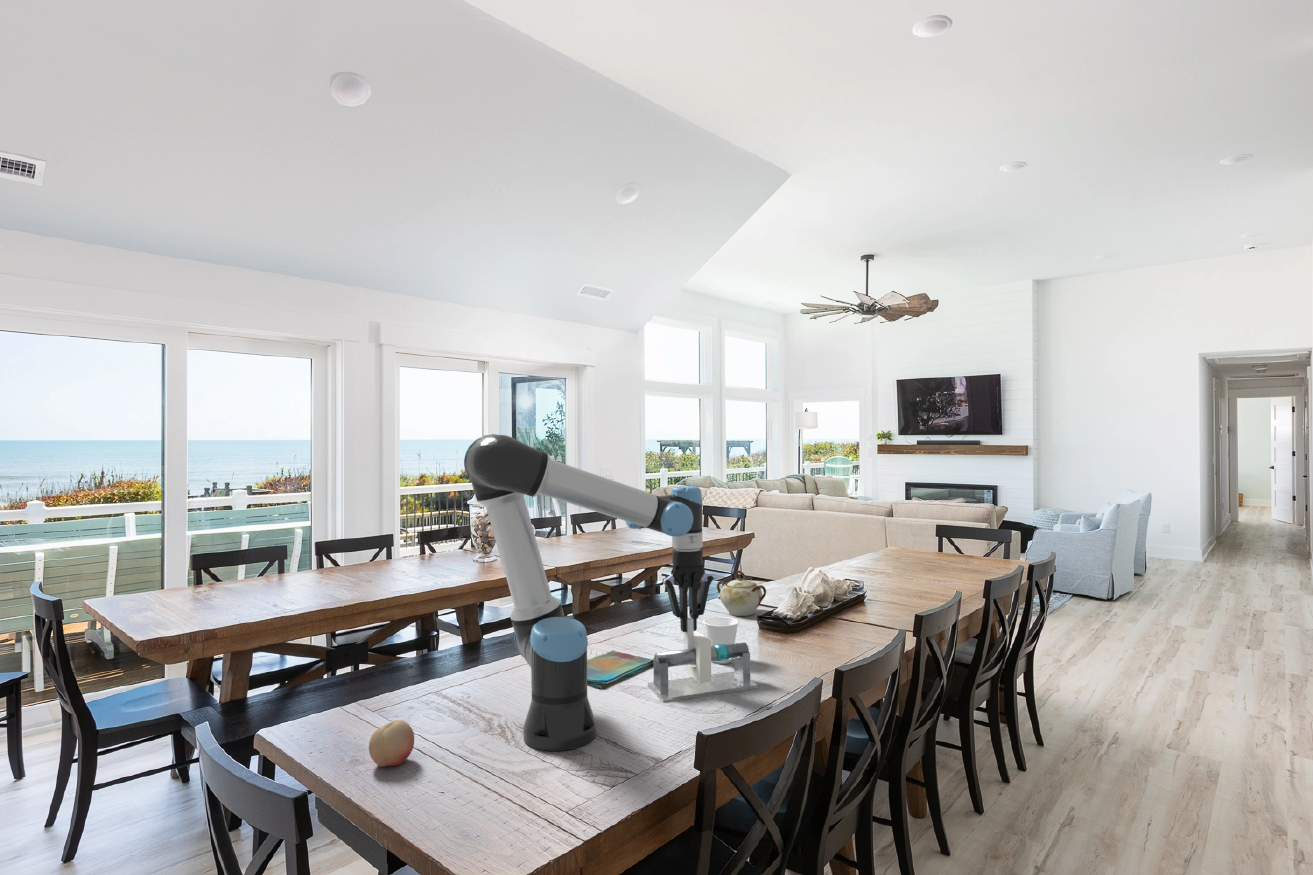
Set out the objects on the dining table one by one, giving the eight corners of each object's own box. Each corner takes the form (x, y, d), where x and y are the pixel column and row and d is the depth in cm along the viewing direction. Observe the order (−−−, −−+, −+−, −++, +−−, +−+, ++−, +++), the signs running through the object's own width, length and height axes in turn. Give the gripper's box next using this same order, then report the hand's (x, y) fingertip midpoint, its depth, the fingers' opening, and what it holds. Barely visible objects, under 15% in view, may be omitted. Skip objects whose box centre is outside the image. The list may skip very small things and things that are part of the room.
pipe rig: (662, 701, 165) (662, 659, 165) (647, 686, 175) (647, 646, 175) (757, 688, 173) (757, 647, 173) (738, 673, 184) (737, 635, 184)
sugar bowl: (705, 613, 246) (705, 571, 245) (728, 605, 257) (727, 564, 257) (755, 622, 234) (755, 577, 234) (776, 613, 246) (776, 570, 245)
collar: (699, 683, 169) (699, 641, 169) (684, 670, 178) (684, 630, 178) (711, 681, 170) (710, 640, 170) (695, 668, 179) (695, 629, 179)
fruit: (382, 753, 140) (382, 713, 139) (421, 755, 139) (420, 714, 139) (361, 773, 132) (361, 730, 132) (402, 774, 131) (401, 732, 131)
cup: (737, 667, 189) (737, 626, 189) (701, 665, 191) (700, 625, 191) (740, 655, 199) (740, 617, 198) (705, 654, 201) (705, 615, 200)
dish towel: (552, 678, 184) (552, 668, 184) (610, 655, 202) (610, 646, 202) (601, 692, 173) (601, 681, 173) (658, 666, 192) (658, 657, 192)
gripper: (668, 553, 167) (669, 651, 167) (717, 549, 172) (719, 645, 172) (657, 548, 174) (659, 643, 174) (705, 544, 179) (706, 637, 179)
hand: (688, 644), depth 173 cm, fingers closed
